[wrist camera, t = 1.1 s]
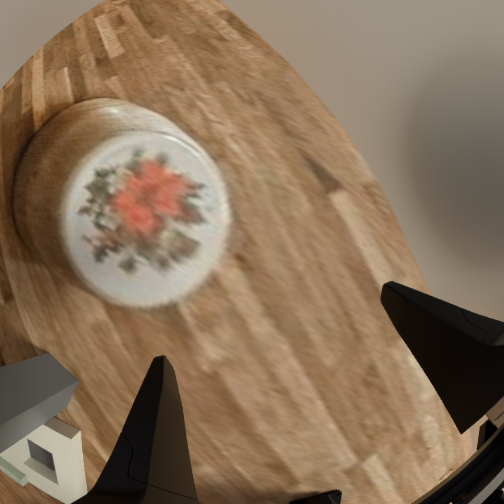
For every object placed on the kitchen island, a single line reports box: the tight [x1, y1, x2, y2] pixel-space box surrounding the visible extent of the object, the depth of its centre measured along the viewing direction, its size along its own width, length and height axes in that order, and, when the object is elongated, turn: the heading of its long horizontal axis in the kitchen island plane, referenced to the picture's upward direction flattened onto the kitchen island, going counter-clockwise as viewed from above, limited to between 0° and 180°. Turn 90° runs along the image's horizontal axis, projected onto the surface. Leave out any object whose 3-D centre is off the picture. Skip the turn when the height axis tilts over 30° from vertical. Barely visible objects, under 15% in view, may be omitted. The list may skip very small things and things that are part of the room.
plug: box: [0, 353, 79, 454], centre depth 13 cm, size 4×4×15 cm
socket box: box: [0, 417, 88, 504], centre depth 16 cm, size 16×14×4 cm
